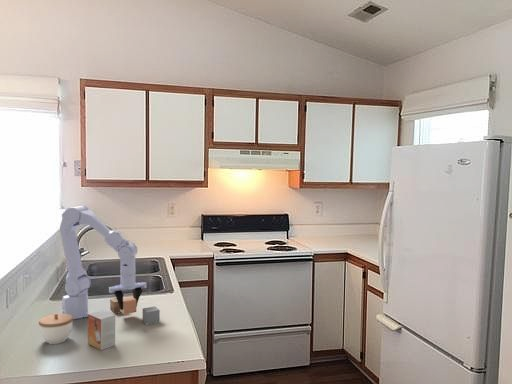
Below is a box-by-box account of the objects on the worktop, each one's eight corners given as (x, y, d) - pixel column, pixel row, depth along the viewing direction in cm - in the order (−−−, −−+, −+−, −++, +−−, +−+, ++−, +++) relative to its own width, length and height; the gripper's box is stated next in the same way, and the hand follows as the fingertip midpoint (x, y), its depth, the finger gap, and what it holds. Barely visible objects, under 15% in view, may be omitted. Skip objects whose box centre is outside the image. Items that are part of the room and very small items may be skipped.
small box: (87, 344, 147) (87, 313, 147) (102, 339, 152) (102, 309, 151) (101, 350, 142) (100, 319, 142) (115, 345, 147) (115, 314, 146)
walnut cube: (113, 314, 178) (113, 302, 177) (110, 310, 182) (110, 298, 181) (126, 311, 180) (125, 300, 180) (122, 308, 184) (122, 297, 184)
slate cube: (147, 325, 166) (147, 312, 166) (142, 321, 170) (142, 308, 170) (159, 322, 169) (159, 309, 168) (154, 318, 173) (154, 306, 172)
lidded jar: (64, 332, 158) (63, 306, 157) (79, 339, 151) (78, 313, 150) (33, 341, 149) (33, 314, 149) (48, 349, 143) (47, 321, 142)
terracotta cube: (123, 314, 170) (123, 301, 169) (119, 310, 174) (119, 298, 174) (136, 312, 173) (136, 299, 172) (132, 308, 177) (132, 296, 176)
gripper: (112, 278, 165) (112, 314, 166) (149, 274, 173) (149, 307, 174) (107, 274, 171) (107, 308, 171) (143, 270, 179) (143, 302, 180)
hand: (128, 307), depth 173 cm, fingers closed on terracotta cube, 5 cm apart
